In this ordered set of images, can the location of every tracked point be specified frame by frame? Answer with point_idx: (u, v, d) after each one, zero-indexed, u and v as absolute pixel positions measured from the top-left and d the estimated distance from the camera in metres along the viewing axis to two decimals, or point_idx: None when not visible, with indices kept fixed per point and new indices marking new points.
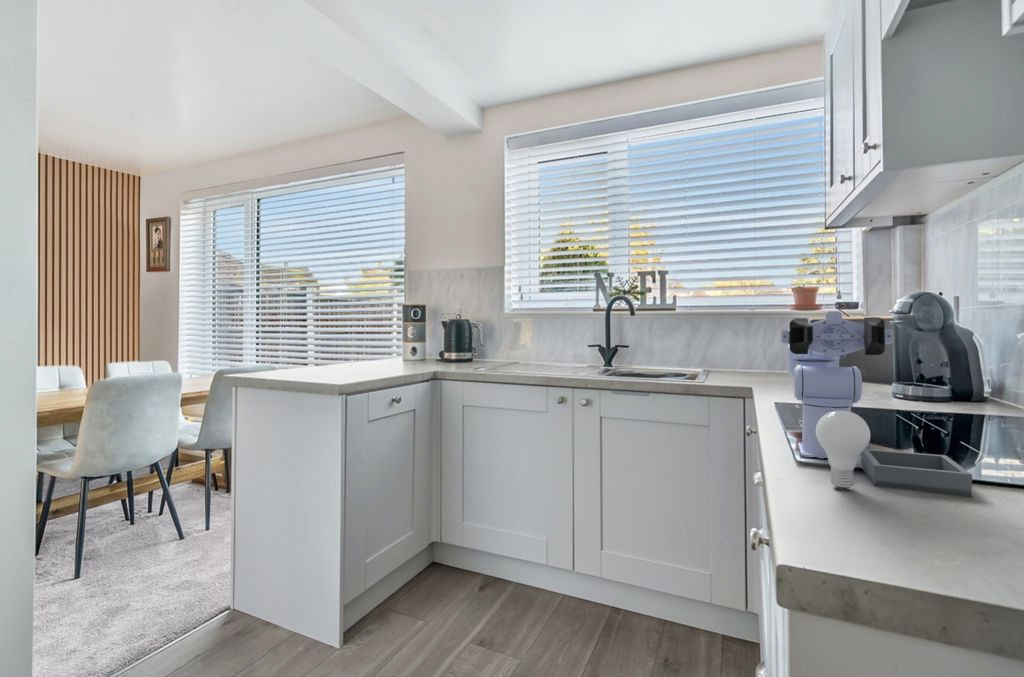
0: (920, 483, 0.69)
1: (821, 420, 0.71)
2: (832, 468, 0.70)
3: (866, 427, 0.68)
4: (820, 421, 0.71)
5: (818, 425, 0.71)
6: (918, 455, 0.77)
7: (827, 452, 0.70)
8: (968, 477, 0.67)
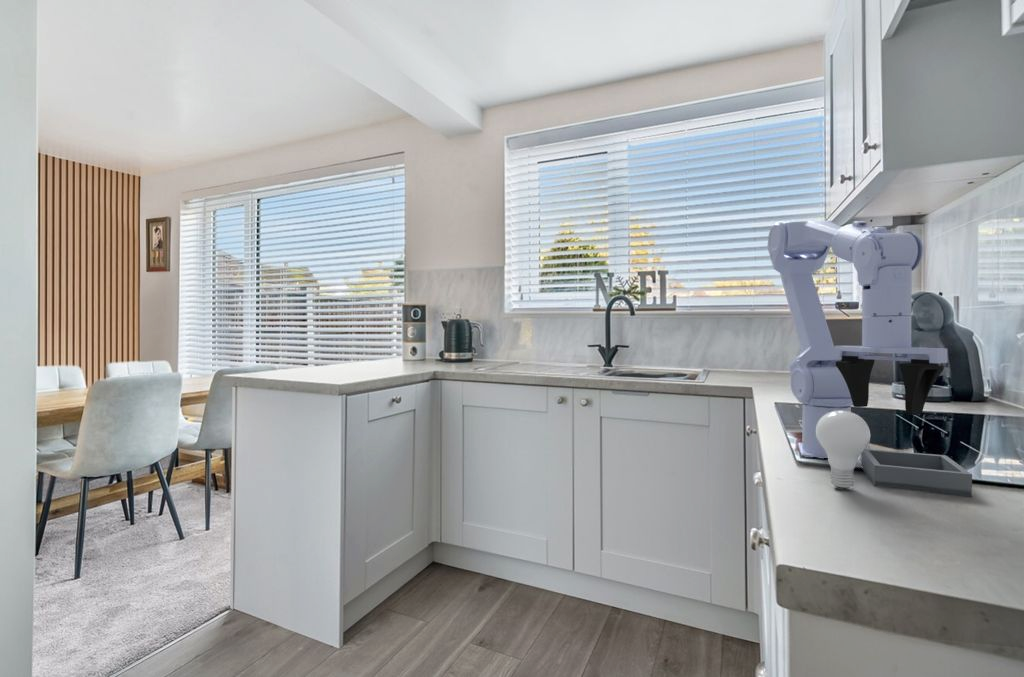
0: (920, 483, 0.69)
1: (821, 420, 0.71)
2: (832, 468, 0.70)
3: (866, 427, 0.68)
4: (820, 421, 0.71)
5: (818, 425, 0.71)
6: (918, 455, 0.77)
7: (827, 452, 0.70)
8: (968, 477, 0.67)
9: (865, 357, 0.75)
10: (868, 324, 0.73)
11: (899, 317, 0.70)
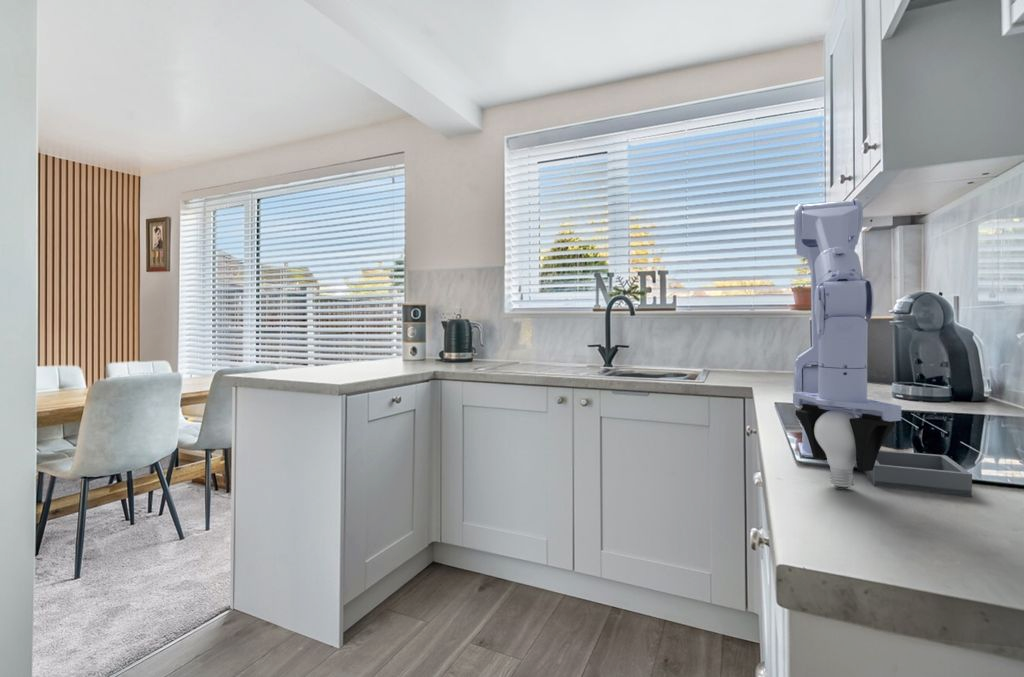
0: (920, 483, 0.69)
1: (819, 420, 0.71)
2: (831, 468, 0.71)
3: None
4: (818, 421, 0.71)
5: (816, 425, 0.71)
6: (918, 455, 0.77)
7: (826, 452, 0.70)
8: (968, 477, 0.67)
9: (822, 407, 0.73)
10: (823, 375, 0.70)
11: (854, 370, 0.68)
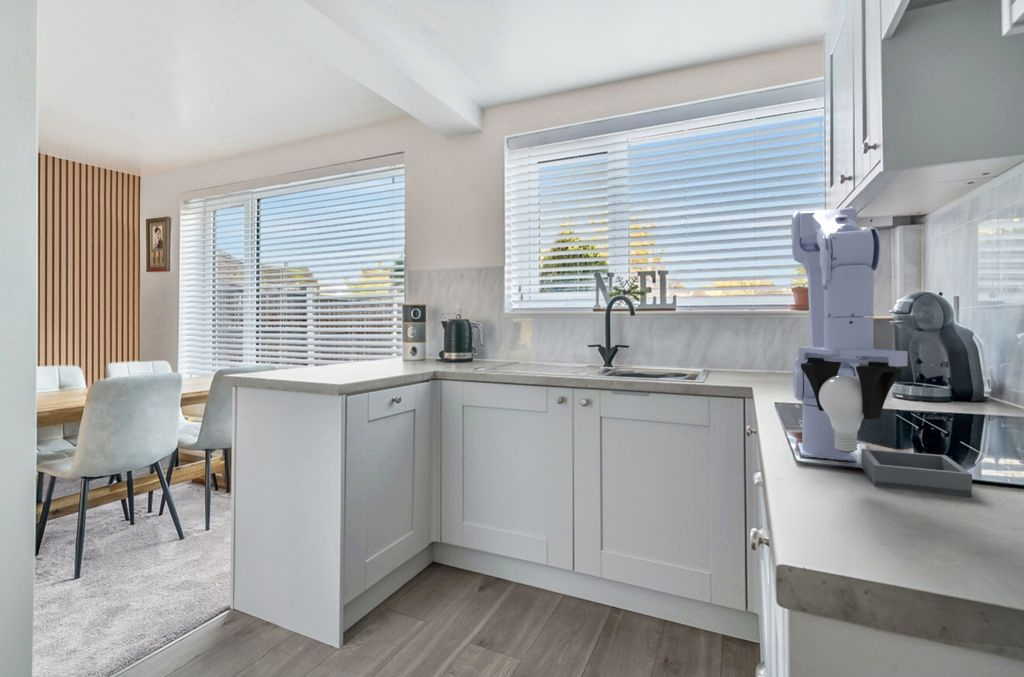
0: (920, 483, 0.69)
1: (824, 385, 0.71)
2: (835, 432, 0.71)
3: None
4: (823, 386, 0.71)
5: (821, 390, 0.71)
6: (918, 455, 0.77)
7: (830, 416, 0.71)
8: (968, 477, 0.67)
9: (828, 359, 0.73)
10: (829, 325, 0.70)
11: (860, 318, 0.68)
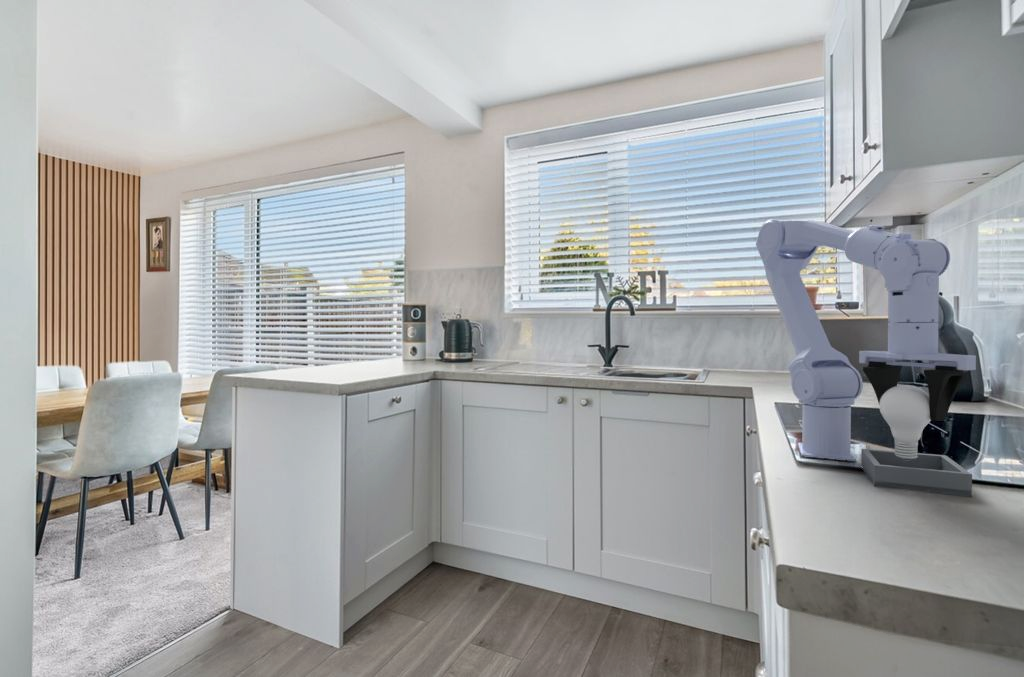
0: (920, 483, 0.69)
1: (885, 395, 0.74)
2: (895, 440, 0.74)
3: None
4: (884, 396, 0.74)
5: (881, 399, 0.74)
6: (918, 455, 0.77)
7: (891, 425, 0.73)
8: (968, 477, 0.67)
9: (890, 363, 0.76)
10: (895, 330, 0.73)
11: (926, 324, 0.70)
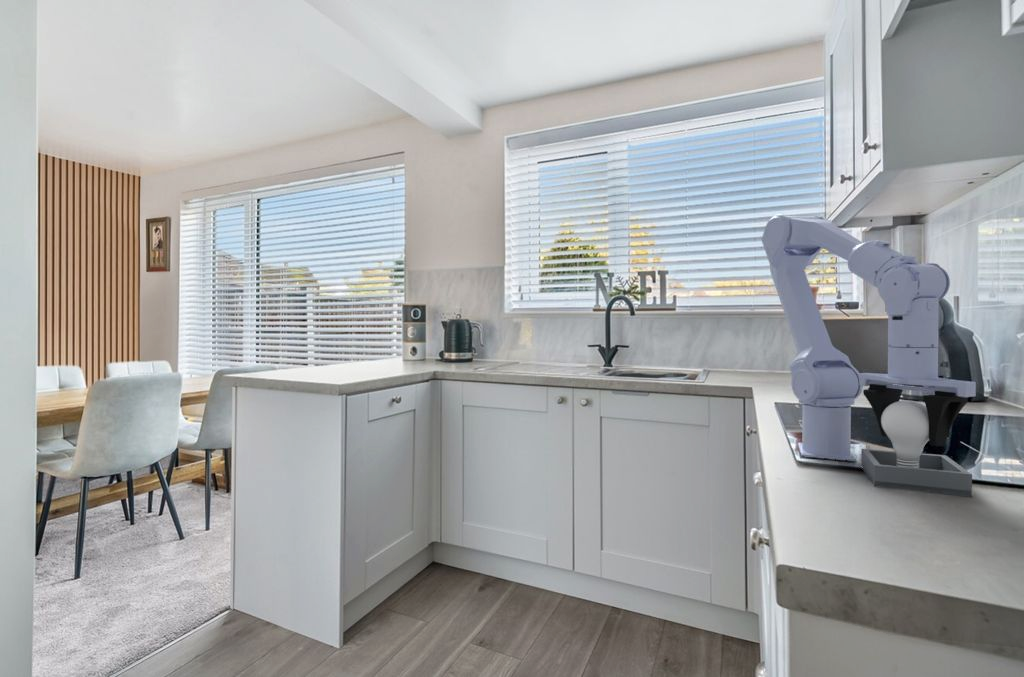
0: (920, 483, 0.69)
1: (886, 409, 0.74)
2: (897, 456, 0.74)
3: None
4: (885, 410, 0.74)
5: (883, 414, 0.74)
6: None
7: (892, 440, 0.73)
8: (968, 477, 0.67)
9: (890, 386, 0.76)
10: (894, 355, 0.73)
11: (926, 349, 0.70)
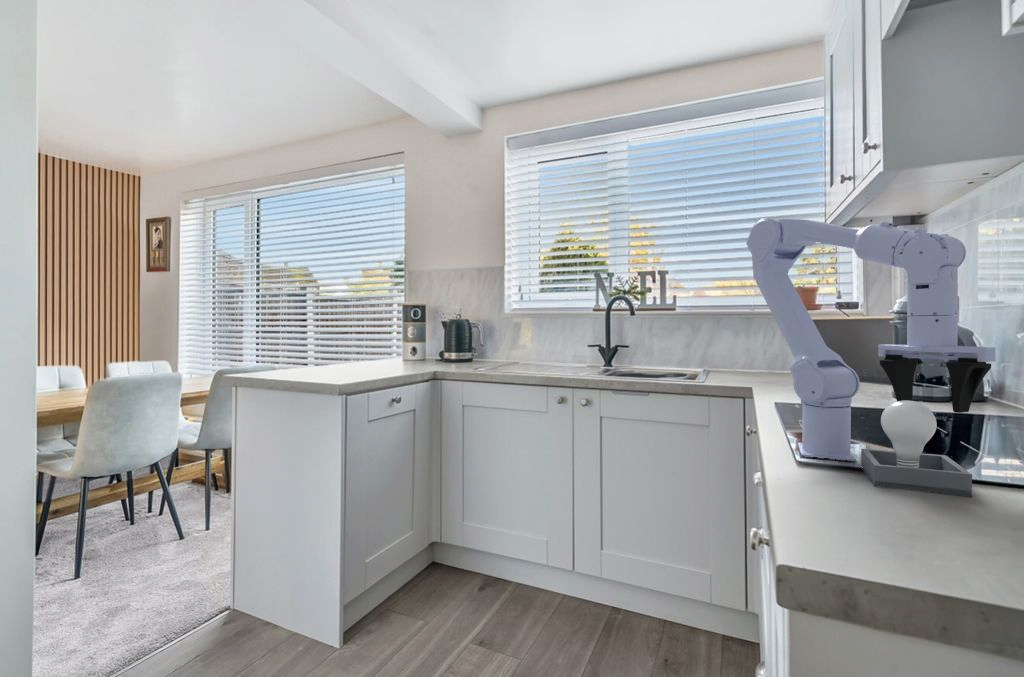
0: (920, 483, 0.69)
1: (886, 409, 0.74)
2: (897, 456, 0.74)
3: (932, 416, 0.71)
4: (885, 410, 0.74)
5: (883, 414, 0.74)
6: None
7: (892, 440, 0.73)
8: (968, 477, 0.67)
9: (910, 356, 0.77)
10: (914, 323, 0.74)
11: (946, 317, 0.71)
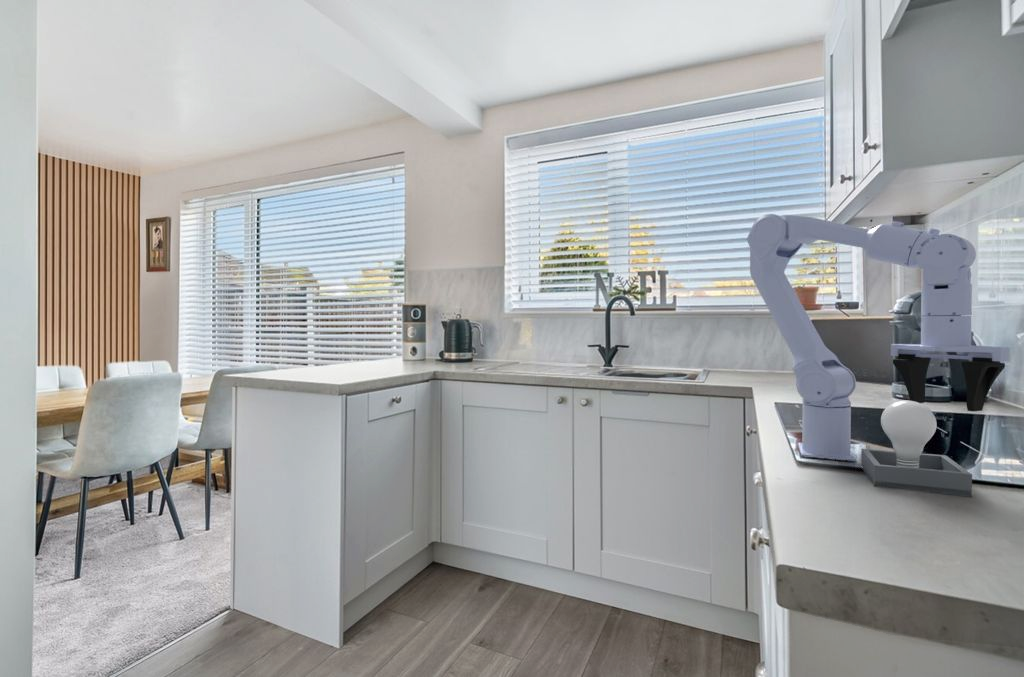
0: (920, 483, 0.69)
1: (886, 409, 0.74)
2: (897, 456, 0.74)
3: (932, 416, 0.71)
4: (885, 410, 0.74)
5: (883, 414, 0.74)
6: None
7: (892, 440, 0.73)
8: (968, 477, 0.67)
9: (923, 355, 0.78)
10: (928, 323, 0.75)
11: (960, 317, 0.72)
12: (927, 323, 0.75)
